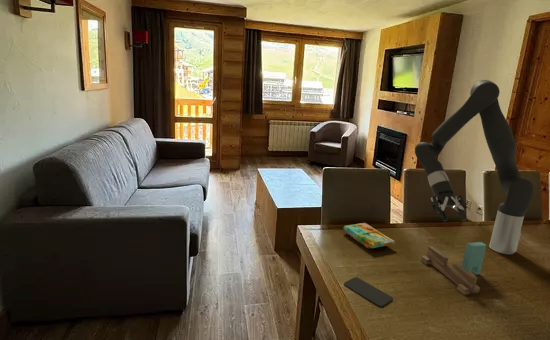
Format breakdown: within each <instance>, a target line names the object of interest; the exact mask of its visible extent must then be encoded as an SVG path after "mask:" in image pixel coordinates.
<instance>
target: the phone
mask: <svg viewBox="0 0 550 340" xmlns="http://www.w3.org/2000/svg"><path fill="white" fill-rule="evenodd" d="M343 285H344V287H346V288H347V289H349V290H351V291H352V292H354V293H356V294H357V295H359V296H361V297H362V298H364V300H366V301H368V302H369V303H372V304H373V305H374V306H377V307H379V308H384V307H385V306H387V305H388V304H390V303H391V302H392V301H393V299H394V297H392V296H391V295H389V294H388V293H386V292H384V291H383V290H380V289H379V288H377V287H375V286H374V285H372V284H370V283H368V282H367V281H365V280H363V279H362V278H359V277H356V276H355V277H352V278H349V280H347V281H345V282H344V283H343Z"/></svg>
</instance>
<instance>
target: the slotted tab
mask: <svg viewBox="0 0 550 340" xmlns="http://www.w3.org/2000/svg"><path fill="white" fill-rule="evenodd" d="M486 248H487V244H486V243H483V242H482V241H477V242H467V243H466V246H465V251H464V255H463V260H462V264H461V267H462V268H464V269H465V270H467V271H468V272H469V273H471V272H472V273H473V274H475V275H480V274H481V270H482V266H483V261H484V259H485V254H486V250H487V249H486Z"/></svg>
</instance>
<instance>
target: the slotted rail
mask: <svg viewBox="0 0 550 340" xmlns="http://www.w3.org/2000/svg"><path fill="white" fill-rule="evenodd" d="M426 252H427V253H426V255H421V259H420V261H421V262H422V263H424V265H426V266H427V265H431V266H433V267H434V268H435V269H436V270H437V271H438V272H440V273H441V274H442V275H444V276H446V277H447V278H449V280H451V282H453V283H454V284H455V285H457V288H456V290H458V292H460V293H461V294H463V295H464V296H465V295H471V294H472V295H474V294H479V293H480V290H481V288H480V286H479V285H477V280H478V278H477V277H476V276H475V275H473V274H472V273H471V272H470V273H469V272H468V271H467V270H465V269H464V268H462V265H459V264H458V263H452V266H451V267H450V266H449V265H448V264H449V263H448V262H449V257H448V256H447V255H445V254H444V253H442V252H441V251H439V250H438V249H437V248H435V247H433V245H432V246H431V245H430V246H429V245H428V247H427V251H426Z"/></svg>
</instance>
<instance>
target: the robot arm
mask: <svg viewBox="0 0 550 340" xmlns="http://www.w3.org/2000/svg"><path fill="white" fill-rule="evenodd" d="M470 88H471V89H470V92H469V97H468V98H467V100H466V101H465V102H464V103H463V105H462V106H461V107H460V108H458V110H456V111H455V112H454V113H453V114H452V115H450V116H448V118H446V119H445V120H444V121H443V122H441V124H440V125H439V126H438V127H437V128H436V129H435V130H434V131H433V132H432V134H431V138H432V140H431V142H430V143H428V142H426V141H425V142H424V141H421V142H418V143H417V144H416V145H415V147H414V154H415V157H416V158H417V160H418V161H419V163H420V165H421V166H422V167H423V169H424V171H425V174H426V177H427V180H428V184H429V186H430V188H431V192H432V194H433V195H432V196H431V197H430V198H429V202H430V204H431V208H432V211H433V212H434V213H436V212H437V213H438V215H439V216H440V219H441V220H442V221H443V222H447V221H448V220H449V218H448V216H447V213H446V212H447V211H445V208H452V209H453V210H455V211H456V212H457V214H458V216H459V219H460V221H462V222H463V221H466V220H467V215H466V213H465V210H467V208H468V207H467V205H466V203H465V200H464V199H463V196H462V195H461V194H460V195H456V196H455V194H454V189H453V186H452V184H451V181H450V179H449V177H448V175H447V173H446V171H445V169H444V166H443V164H442V163H441V162H440V161H439V159H437V157H439V155H440V154H441V152H442V151H443V149H444V148H445V146H446V144H447V143H448V142H449V141H450V140H451V139H452V138H453V137H455V136H456V134H458V133H459V131H460V130H462V128H463V127H465V126H466V125H467V124H468V123H469V122H470V121H471V120H472V119H474V117H475V116H477V115H478V114H479V117H480V120H481V125H482V130H483V133H484V138H485V141H486V144H487V147H488V150H489V152H490V154H491V157H492V160H493V164H494V165H495V168H496V172H497V177H498V183H499V186H500V189H501V190H502V192H503V193H505V195H506V198H505V201H504V202H501V203H499V205H498V208H497V213H496V216H495V220H494V225H493V229H492V233H491V237H490V242H489V245H488V246H489V248H490V249H491V250H492V251H495V252H496V253H499V254H504V255H514V254H515V253H516V252H518V251H517V249H518V246H519V243H520V238H521V234H522V231H521V229H522V226H523V221H524V219H525V214H526V212H527V211H528V210H529V208H530V206H531V203H532V200H533V196H534V193H535V185H534V183H533V182H532V180H530V179H528V178H526V177H523V176H522V175H521V173H520V171H519V168H518V166H517V163H516V155H517V142H516V140H515V137H514V134H513V130H512V129H511V126H510V124H509V122H508V120H507V119H506V117H505V116H504V114H503V112H502V110H501V106H500V102H499V96H500V92H501V91H500V88H499V86H498V85H497V84H496V83H495V82H493V81H491V80H488V79H482V80H478V81H476V82H475V83H474V84H473V85H472V87H470Z"/></svg>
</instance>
